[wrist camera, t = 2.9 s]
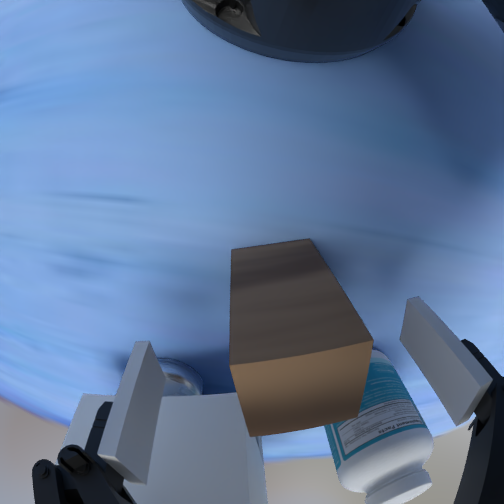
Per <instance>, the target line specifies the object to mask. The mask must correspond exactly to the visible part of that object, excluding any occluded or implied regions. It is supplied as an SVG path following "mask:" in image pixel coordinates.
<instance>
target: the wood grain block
mask: <svg viewBox="0 0 504 504" xmlns="http://www.w3.org/2000/svg"><path fill="white" fill-rule="evenodd" d="M373 341H374V340H373V338H372V336H371V335H370V333H369V331H368V330H367V328H366V326H365V325H364V323H363V321H362V320H361V318H360V316H359V315H358V313H357V311H356V310H355V308H354V307H353V305H352V303H351V302H350V300H349V298H348V297H347V295H346V294H345V292H344V291H343V289H342V287H341V286H340V284H339V283H338V281H337V279H336V278H335V276H334V275H333V273H332V272H331V270H330V269H329V267H328V266H327V264H326V263H325V261H324V259H323V258H322V256H321V255H320V253H319V252H318V250H317V249H316V247H315V246H314V244H313V243H312V241H311V240H310V239H303V240H296V241H289V242H282V243H275V244H267V245H260V246H253V247H246V248H240V249H233V250H231V283H230V342H229V366H230V370H231V374H232V377H233V381H234V385H235V388H236V392H237V395H238V399H239V402H240V406H241V409H242V413H243V416H244V419H245V423H246V426H247V429H248V433H249V436H250V437H256V436H264V435H272V434H279V433H286V432H292V431H298V430H304V429H309V428H314V427H319V426H324V425H329V424H333V423H337V422H341V421H345V420H349V419H353V418H357V417H358V414H359V410H360V406H361V402H362V398H363V393H364V389H365V384H366V379H367V374H368V369H369V364H370V358H371V353H372V347H373Z"/></svg>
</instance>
